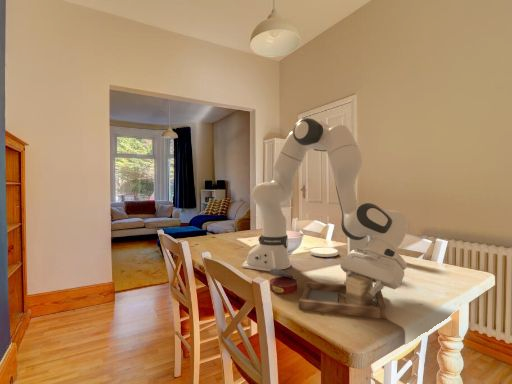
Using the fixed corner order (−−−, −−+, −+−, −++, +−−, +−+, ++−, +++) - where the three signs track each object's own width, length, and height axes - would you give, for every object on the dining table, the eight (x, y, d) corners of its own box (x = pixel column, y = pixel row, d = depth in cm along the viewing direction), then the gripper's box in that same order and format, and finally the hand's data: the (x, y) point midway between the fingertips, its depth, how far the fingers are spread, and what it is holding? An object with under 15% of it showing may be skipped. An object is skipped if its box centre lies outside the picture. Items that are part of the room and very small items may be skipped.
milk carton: (368, 274, 113) (367, 228, 112) (350, 273, 114) (349, 228, 114) (365, 269, 120) (364, 225, 119) (347, 268, 121) (347, 225, 121)
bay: (298, 308, 83) (298, 297, 83) (306, 288, 99) (306, 278, 99) (386, 319, 76) (385, 306, 76) (379, 295, 92) (379, 284, 92)
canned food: (269, 301, 101) (261, 274, 104) (294, 293, 104) (285, 267, 108) (280, 297, 91) (271, 267, 95) (306, 289, 95) (296, 260, 98)
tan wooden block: (360, 309, 82) (360, 282, 82) (346, 302, 87) (346, 277, 87) (373, 305, 85) (372, 279, 85) (358, 298, 90) (358, 274, 89)
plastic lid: (342, 257, 140) (342, 252, 140) (316, 259, 138) (316, 254, 138) (330, 251, 154) (330, 246, 154) (306, 253, 151) (306, 248, 151)
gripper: (348, 242, 98) (328, 274, 93) (403, 254, 80) (381, 295, 76) (357, 253, 100) (338, 285, 96) (412, 267, 82) (392, 307, 78)
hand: (358, 290), depth 85 cm, fingers open, 8 cm apart
